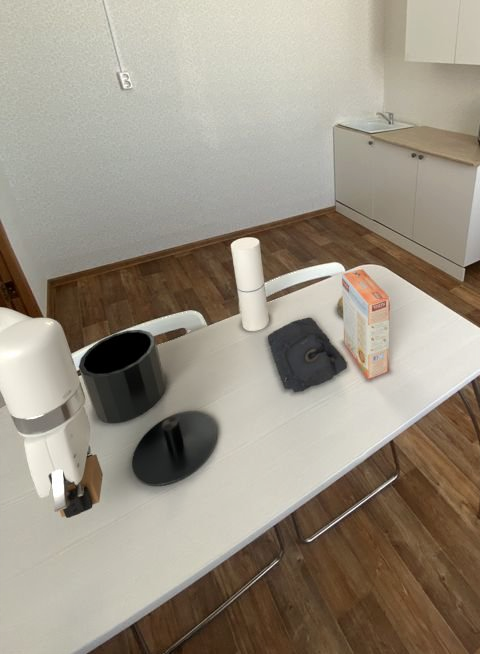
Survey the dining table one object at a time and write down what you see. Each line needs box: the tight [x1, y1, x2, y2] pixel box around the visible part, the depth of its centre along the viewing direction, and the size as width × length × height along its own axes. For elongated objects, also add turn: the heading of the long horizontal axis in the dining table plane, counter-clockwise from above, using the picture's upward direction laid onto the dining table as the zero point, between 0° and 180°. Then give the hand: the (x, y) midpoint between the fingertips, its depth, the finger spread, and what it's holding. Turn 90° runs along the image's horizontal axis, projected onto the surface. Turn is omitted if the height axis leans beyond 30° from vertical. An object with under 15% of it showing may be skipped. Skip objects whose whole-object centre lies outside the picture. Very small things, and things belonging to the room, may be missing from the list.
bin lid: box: [131, 410, 217, 488], centre depth 72 cm, size 15×15×7 cm
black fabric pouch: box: [267, 316, 347, 393], centre depth 95 cm, size 15×22×5 cm
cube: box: [59, 454, 104, 518], centre depth 58 cm, size 5×5×5 cm
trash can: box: [78, 329, 166, 424], centre depth 82 cm, size 14×14×12 cm
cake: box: [336, 295, 343, 318], centre depth 112 cm, size 10×10×5 cm
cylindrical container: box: [230, 236, 270, 332], centre depth 103 cm, size 7×7×25 cm
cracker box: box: [341, 268, 391, 380], centre depth 91 cm, size 14×6×21 cm, turn 25°
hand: (82, 492), depth 58 cm, fingers closed on cube, 4 cm apart
